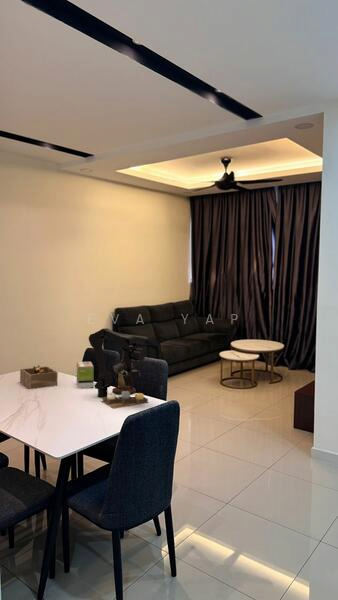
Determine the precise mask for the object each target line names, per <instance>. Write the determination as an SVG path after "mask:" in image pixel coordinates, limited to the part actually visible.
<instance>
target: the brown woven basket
mask: <svg viewBox="0 0 338 600" xmlns="http://www.w3.org/2000/svg"><path fill="white" fill-rule="evenodd" d="M119 363H121V361H119V362H118V364H119ZM132 367H133V368H134V366H133V365H132ZM120 373H121V372H120ZM120 373H116V372H115V376H116V377H115V387H114V388H112V389H111V390H112V391H111V392H112V394H116V395H120V396H121V392H123V391H129V392H130V395H133V394H136V393H137V389H136V388H135V387H134V386H133V383H134V378H133V377H132V378H131V380H130V382H129V384H128V385H127V386H126V385H125V382H124V378H123V376H122V375H121V374H120Z"/></svg>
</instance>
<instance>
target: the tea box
mask: <svg viewBox="0 0 338 600" xmlns="http://www.w3.org/2000/svg"><path fill="white" fill-rule="evenodd" d="M94 368H95V367H94V365H93V362H92V361H77V362H76V384H77V387H78V389H79V388H81V389H92V388H91V387H93V388H94V385H95V384H94V375H95V371H94V370H95V369H94Z"/></svg>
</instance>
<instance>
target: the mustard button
mask: <svg viewBox="0 0 338 600" xmlns="http://www.w3.org/2000/svg"><path fill="white" fill-rule="evenodd" d="M134 394H135V395H134V396H135V399H137V400H141V399H144V397H145V395H144V393H141V392H138V393H137V392H136V393H134Z"/></svg>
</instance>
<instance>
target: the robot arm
mask: <svg viewBox="0 0 338 600" xmlns="http://www.w3.org/2000/svg"><path fill="white" fill-rule="evenodd" d="M105 338H109V339H111V340H113V341H115V342H117V343H118V344H119V345H120V346H121V347H120V348H119V350H120V351H122V359H121V360H120V362H121V363H119V362H118V363H117V364H115V365H113V366H112V368H113V372H114V373H115V374H116V373H120V372H121V373H120V374H121V375H122V376H123V378H124V382H125V385H126V386H127V385H128V384H129V382H130V380H131V378H132V377H140V376H141V371H140V370H137V369H134V368H133V367H134V366H133V363H135V361H138V362H143V361H144V360H145V357H146V354H145V351H144V349H143V348H139V346H138V344H137V342H136V339H135V337H134V336H132V335H123V334H120V333H118V332H116V331H113V330H111V329H109V328H107V327H106V328H101V329H100V330H98V331H96V332H94V333H91V334H90V335H89V336H88V342H89V344H90V346H91V347H92V348H93V350H94V357H95V360H96V364H97V368H98V374H97V382H96V383H95V384H93V387H94V389H95V390H97V398H102V399H103V397H107V394H108V388H111V385H112V384H113V382H114V381H113V380H114V377H113V373H112V372H110V371H109V370H108V367H107V364H106V360H105V354H104V349H103V345H104V339H105ZM132 366H133V367H132Z"/></svg>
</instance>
